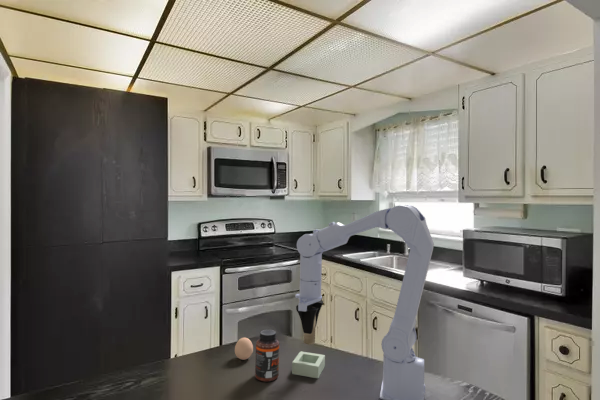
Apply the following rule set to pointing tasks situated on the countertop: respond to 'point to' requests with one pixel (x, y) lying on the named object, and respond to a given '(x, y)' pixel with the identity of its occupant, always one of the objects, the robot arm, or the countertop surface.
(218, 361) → the countertop surface
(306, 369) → the hole block
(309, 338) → the beech peg
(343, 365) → the countertop surface
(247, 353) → the egg
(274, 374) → the supplement bottle
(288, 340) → the countertop surface
